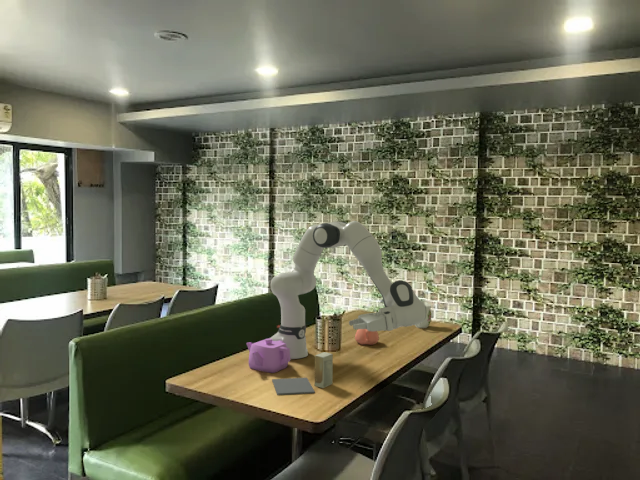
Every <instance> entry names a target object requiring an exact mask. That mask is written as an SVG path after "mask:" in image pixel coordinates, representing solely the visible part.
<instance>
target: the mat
mask: <svg viewBox="0 0 640 480" xmlns="http://www.w3.org/2000/svg"><path fill="white" fill-rule="evenodd" d="M271 381H272V384H273V387H274V390H275V394H276V395H277V396H284V395H303V394H304V395H305V394H315V393H316V392H315V390H314V387H313V385H312V384H311V382H310V381H309V379H308V377H293V378H291V377H290V378H272V379H271Z"/></svg>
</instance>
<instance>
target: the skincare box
mask: <svg viewBox="0 0 640 480" xmlns="http://www.w3.org/2000/svg"><path fill="white" fill-rule="evenodd" d="M333 355H334V354H333V353H330V352H327V351H326V352H324V351H323V352H321V353H320V352H319V353H317V354H315V355H314V386H315V387H318V388H322V389H324V388H327V387H329V386H331V385H333V366H334V365H333V358H334V357H333Z"/></svg>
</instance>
